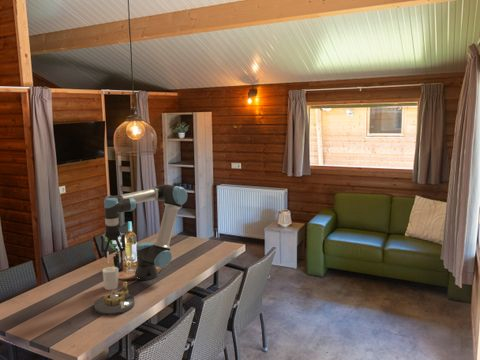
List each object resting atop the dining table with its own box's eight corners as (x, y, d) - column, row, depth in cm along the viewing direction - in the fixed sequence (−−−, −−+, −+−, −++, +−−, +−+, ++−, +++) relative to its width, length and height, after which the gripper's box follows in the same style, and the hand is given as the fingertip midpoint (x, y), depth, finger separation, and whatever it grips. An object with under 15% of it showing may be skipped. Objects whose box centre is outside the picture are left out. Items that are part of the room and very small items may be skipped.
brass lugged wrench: (116, 306, 228) (115, 294, 227) (100, 303, 233) (99, 291, 231) (134, 294, 244) (133, 283, 242) (119, 291, 248) (118, 280, 247)
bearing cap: (112, 295, 250) (111, 284, 249) (142, 301, 242) (141, 290, 241) (86, 311, 230) (85, 299, 229) (117, 318, 222) (117, 306, 221)
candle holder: (102, 291, 255) (101, 273, 253) (103, 285, 265) (102, 267, 263) (119, 289, 258) (118, 271, 256) (119, 283, 267) (118, 265, 265)
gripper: (94, 227, 232) (96, 266, 236) (128, 225, 236) (130, 263, 240) (95, 223, 239) (98, 261, 243) (129, 221, 244) (131, 258, 247)
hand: (114, 262), depth 242 cm, fingers open, 6 cm apart
